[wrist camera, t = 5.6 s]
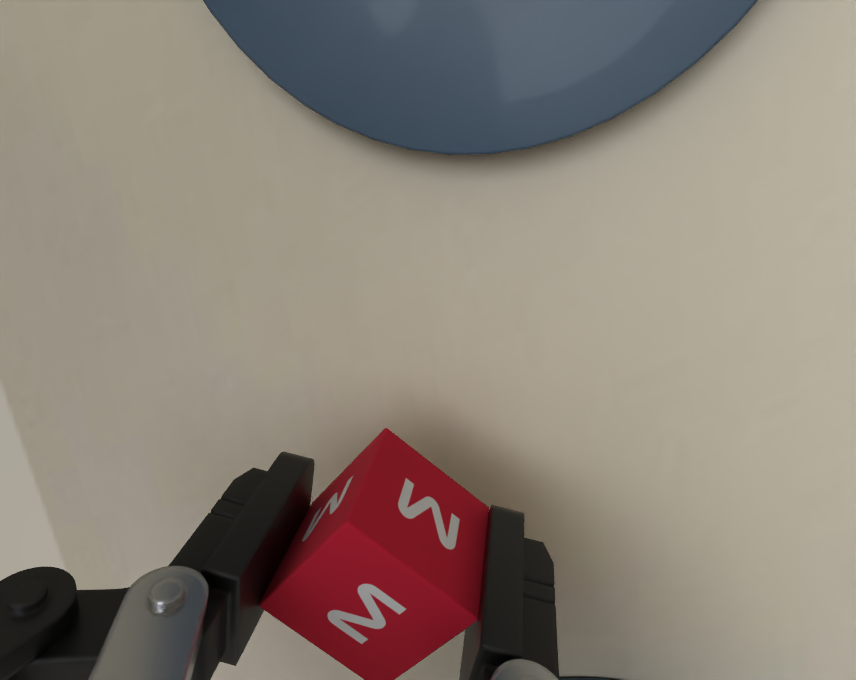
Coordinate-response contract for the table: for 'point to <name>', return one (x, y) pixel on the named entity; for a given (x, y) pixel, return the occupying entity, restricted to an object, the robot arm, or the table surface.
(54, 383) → the table surface
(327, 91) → the lid
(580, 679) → the tin
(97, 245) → the table surface
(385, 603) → the dice
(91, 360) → the table surface
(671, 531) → the table surface
